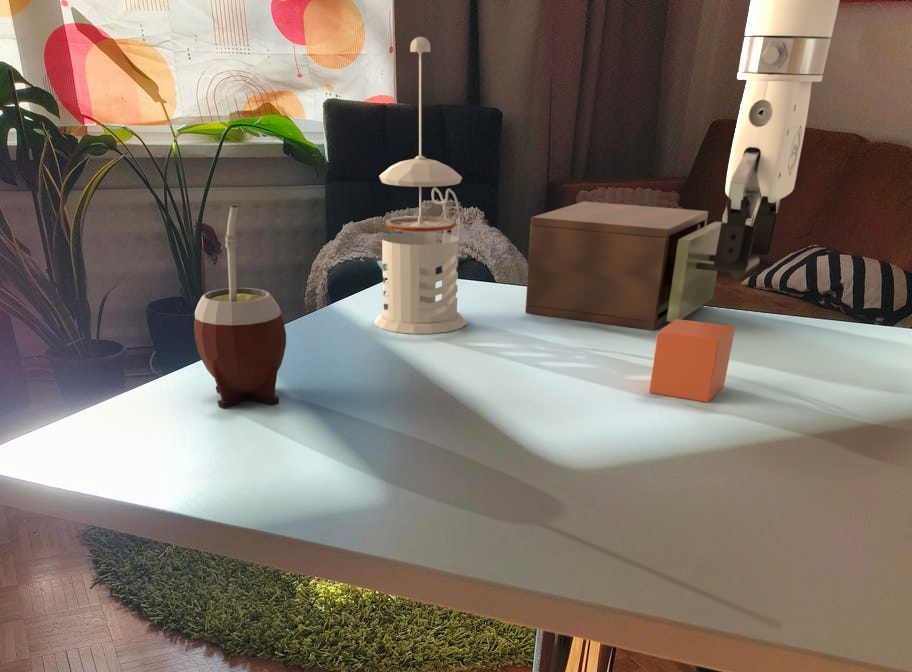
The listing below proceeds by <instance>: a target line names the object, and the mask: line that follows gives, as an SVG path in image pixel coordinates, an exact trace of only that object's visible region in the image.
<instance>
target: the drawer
mask: <svg viewBox="0 0 912 672" xmlns="http://www.w3.org/2000/svg"><path fill="white" fill-rule="evenodd" d="M721 223H722V221H713V222H711V223H709V224H706V226H705V227H703V228H701V229H700V223H697V224H695V225H693V226H691V227H688V228H686V229H684V230H682V231H680V232H678V233H675V234H673V235H671V236H669V237H668V238H669V239H668V246H667V253H666V260H665V267H664V274H663V281H662V288H661V296H660V303H659V310H658V314H659V313H660V312H662V311H664V310H665V309H667V308H668V314H667V321H666V322H668V323H671V322H673V321H674V320H676V319H680V320H685V318H686V317H688V316H690V315H691V314H693V313H694V312H695V311H696V310H698V309H699V308H700V307H702V306H703V305H705V304H706V303H708V302H709V301H710V300H712V299H713V298H714V294H715V289H716V288H715V287H716V283H717V276H718V272H721V273H722V272H723V273H729V275H730V277H731V279H734V280H739V279H741V278H744V277H745V276H746V275H747V274H749V273H750V272H752V271H753V270H754V269H756V268H757V267H758V266H759V264H760V257H759V254H755V253H751V254H750V259H749V263H748V267H747V269H746V270H744V271H738V270H730V269H722V268H716V267H715V266H714V261H715V255H716V250H717V244H718V239H719V234H720V228H721Z"/></svg>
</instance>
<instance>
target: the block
mask: <svg viewBox="0 0 912 672" xmlns="http://www.w3.org/2000/svg"><path fill="white" fill-rule="evenodd" d="M735 330H736V327H735V326H734V325H725V324H719V323H718V324H717V323H710V322H702V321H695V320H688V319H682V320H680V319H676V320H674V321H673V322H669V323H668V324H667V325H665V326H664V327H662V328H661V329H660V330H659V331H657V334H656V341H655V349H654V356H653V363H652V369H651V377H650V384H649V390H648V391H649V393H650V394H654V395H661V396H667V397H673V398H678V399H680V398H681V399H685V400H690V401H691V400H692V401H697V402H704V403H709V402H710V401H711V400H712V399H713V398H714V397H715V396H716V395H717V394H718V393H719V392H720V391H721V390H722V389H723V388H724V387H725V384H726V377H727V373H728V367H729V361H730V357H731V352H732V351H731V350H732V346H733V342H734V341H733V340H734V335H735Z"/></svg>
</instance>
